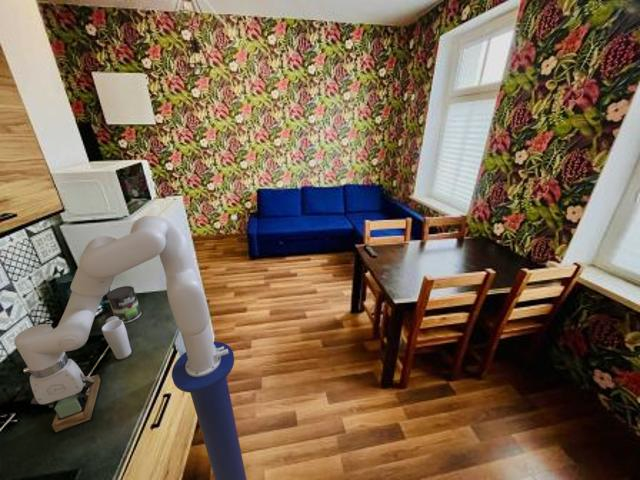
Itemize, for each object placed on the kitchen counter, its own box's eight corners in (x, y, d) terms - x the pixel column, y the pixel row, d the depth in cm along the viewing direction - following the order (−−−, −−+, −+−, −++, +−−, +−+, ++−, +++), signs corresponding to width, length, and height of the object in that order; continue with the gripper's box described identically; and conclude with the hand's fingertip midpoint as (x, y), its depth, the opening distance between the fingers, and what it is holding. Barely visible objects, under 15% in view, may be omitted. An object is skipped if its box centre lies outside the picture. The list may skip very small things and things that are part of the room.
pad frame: (100, 380, 96) (97, 374, 94) (90, 419, 83) (86, 412, 82) (71, 390, 92) (67, 384, 91) (55, 432, 79) (51, 425, 78)
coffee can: (145, 314, 130) (138, 289, 124) (122, 326, 122) (113, 301, 116) (135, 307, 135) (127, 283, 129) (112, 318, 126) (102, 293, 121)
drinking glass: (115, 351, 108) (103, 322, 102) (134, 346, 111) (124, 317, 105) (112, 364, 102) (99, 333, 96) (133, 357, 105) (121, 327, 99)
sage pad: (85, 397, 86) (80, 388, 85) (81, 411, 82) (76, 401, 81) (65, 404, 84) (60, 394, 83) (60, 418, 80) (54, 408, 79)
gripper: (2, 387, 69) (31, 431, 77) (84, 363, 77) (104, 405, 84) (15, 366, 76) (41, 409, 83) (90, 345, 83) (108, 386, 90)
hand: (72, 406), depth 83 cm, fingers closed on sage pad, 4 cm apart
